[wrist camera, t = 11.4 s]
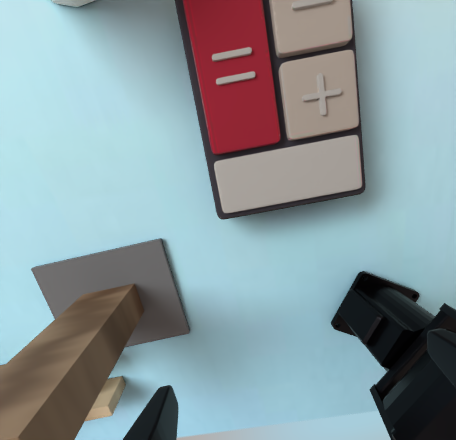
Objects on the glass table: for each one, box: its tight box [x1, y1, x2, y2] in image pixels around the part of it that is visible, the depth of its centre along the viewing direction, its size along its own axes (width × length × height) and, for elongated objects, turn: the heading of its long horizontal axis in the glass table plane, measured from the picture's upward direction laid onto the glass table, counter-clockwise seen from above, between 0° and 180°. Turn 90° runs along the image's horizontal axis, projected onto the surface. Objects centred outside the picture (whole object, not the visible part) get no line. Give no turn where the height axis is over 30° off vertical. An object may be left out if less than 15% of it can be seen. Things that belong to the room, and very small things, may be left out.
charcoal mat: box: [31, 239, 190, 347], centre depth 21 cm, size 12×10×1 cm
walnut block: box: [0, 283, 144, 440], centre depth 15 cm, size 5×3×12 cm, turn 102°
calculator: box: [175, 0, 365, 219], centre depth 16 cm, size 11×4×15 cm
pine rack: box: [85, 376, 126, 421], centre depth 22 cm, size 8×6×3 cm
